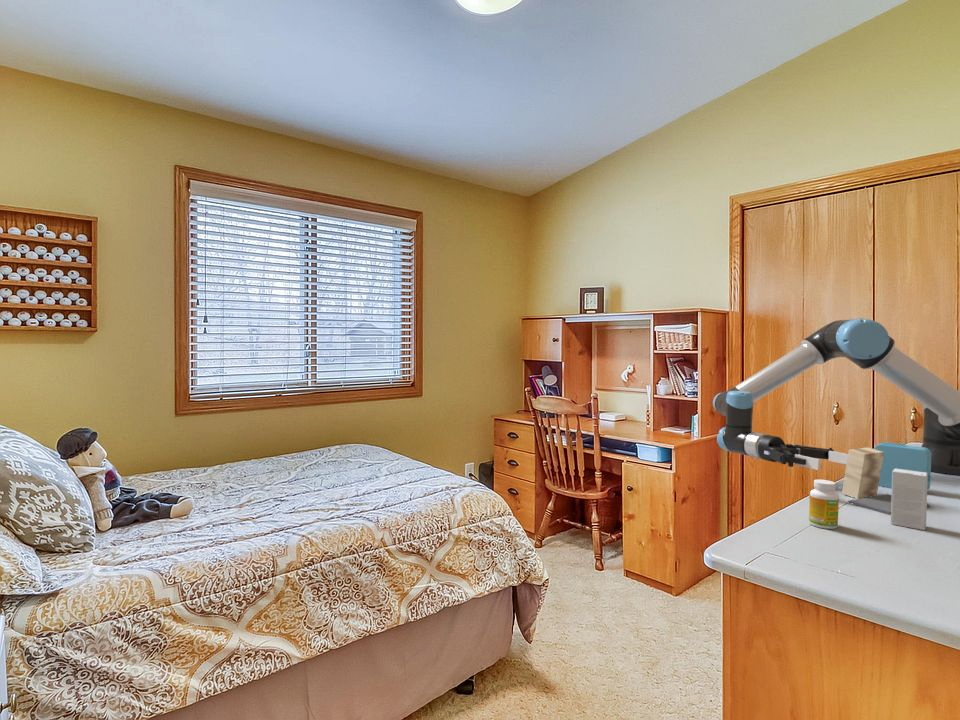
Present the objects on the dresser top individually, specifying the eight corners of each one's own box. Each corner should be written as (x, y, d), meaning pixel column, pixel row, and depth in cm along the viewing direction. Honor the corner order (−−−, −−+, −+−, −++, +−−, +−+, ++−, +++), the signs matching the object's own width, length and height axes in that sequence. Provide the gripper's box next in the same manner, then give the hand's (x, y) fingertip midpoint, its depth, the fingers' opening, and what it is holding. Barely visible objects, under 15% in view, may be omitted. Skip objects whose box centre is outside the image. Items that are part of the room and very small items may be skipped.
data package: (929, 491, 147) (931, 448, 146) (926, 494, 144) (928, 450, 143) (876, 482, 156) (878, 441, 155) (872, 485, 153) (874, 443, 152)
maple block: (860, 489, 146) (867, 447, 144) (876, 495, 142) (884, 452, 141) (841, 492, 143) (848, 449, 141) (857, 498, 139) (864, 454, 137)
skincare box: (926, 526, 119) (928, 472, 119) (924, 531, 116) (927, 476, 115) (891, 519, 123) (894, 467, 123) (889, 524, 120) (891, 471, 120)
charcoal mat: (887, 496, 142) (887, 494, 142) (929, 506, 133) (929, 504, 133) (848, 503, 135) (848, 500, 135) (889, 514, 127) (889, 512, 127)
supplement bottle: (828, 531, 115) (830, 486, 115) (803, 523, 120) (805, 480, 120) (842, 527, 118) (844, 483, 117) (817, 519, 123) (819, 477, 122)
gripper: (794, 456, 165) (866, 472, 146) (734, 463, 156) (803, 481, 136) (794, 432, 165) (867, 445, 146) (735, 437, 155) (804, 451, 136)
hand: (836, 462), depth 141 cm, fingers open, 13 cm apart
